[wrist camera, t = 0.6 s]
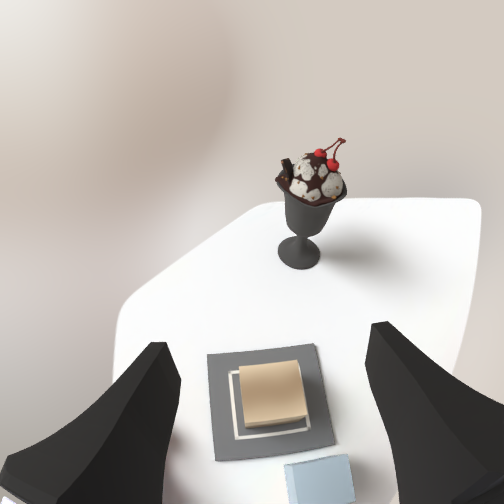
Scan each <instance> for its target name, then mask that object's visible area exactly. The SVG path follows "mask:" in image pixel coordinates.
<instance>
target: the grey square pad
mask: <svg viewBox="0 0 504 504" xmlns="http://www.w3.org/2000/svg"><path fill="white" fill-rule="evenodd" d="M292 360H297V361H298V366H299V372H300V377H301V382H302V388H303V393H304V398H305V404H306V409H307V415H306V416H305V417H304V418H302V419H301V420H300V421H299V422H293V423H287V424H280V425H272V426H265V427H256V428H246V429H245V421H244V413H243V404H242V395H241V386H240V376H239V366H249V365H259V364H268V363H277V362H285V361H292ZM207 364H208V380H209V395H210V408H211V420H212V431H213V442H214V452H215V461H223V460H238V459H249V458H259V457H267V456H275V455H282V454H288V453H294V452H300V451H305V450H311V449H316V448H320V447H325V446H329V445H334V444H335V443H334V437H333V432H332V427H331V422H330V417H329V412H328V407H327V402H326V397H325V392H324V387H323V383H322V378H321V373H320V369H319V364H318V359H317V355H316V350H315V346H314V343H312V344H305V345H298V346H290V347H282V348H274V349H265V350H255V351H245V352H233V353H221V354H207Z"/></svg>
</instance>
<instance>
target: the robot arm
mask: <svg viewBox="0 0 504 504" xmlns="http://www.w3.org/2000/svg"><path fill="white" fill-rule="evenodd" d="M365 367H366V371H367V375H368V379H369V383H370V387H371V390H372V393H373V396H374V398H375V401H376V404H377V407H378V409H379V412H380V415H381V417H382V420H383V423H384V426H385V429H386V431H387V434H388V437H389V441H390V444H391V449H392V454H393V459H394V464H395V470H396V476H397V483H398V491H399V502H400V504H504V405H503V404H501V403H499V402H496V401H494V400H492V399H490V398H488V397H486V396H485V395H483V394H481V393H479V392H477V391H475V390H474V389H472V388H470V387H469V386H467V385H466V384H464V383H462V382H461V381H459V380H458V379H456V378H455V377H454V376H452V375H451V374H449V373H448V372H447V371H445V370H444V369H443V368H442V367H440V366H439V365H438V364H436V363H435V362H434V361H433V360H431V359H430V358H429V357H428V356H427V355H425V354H424V353H423V352H422V351H421V350H420V349H418V348H417V347H416V346H415V345H414V344H413V343H412V342H410V341H409V340H408V339H407V338H406V337H405V336H404V335H403V334H402V333H400V332H399V331H398V330H397V329H396V328H395V327H394V326H393V325H392V324H390V323H389V322H388V321H385V322H379V323H373V324H372V325H371V332H370V338H369V344H368V349H367V355H366V360H365ZM180 387H181V378H180V375H179V373H178V370H177V368H176V366H175V363H174V361H173V358H172V356H171V353H170V351H169V348H168V345H167V343H166V342H151V343H150V344H149V345H148V346H147V347H146V348H145V349H144V350H143V351H142V353H141V354H140V355H139V356H138V357H137V358H136V359H135V361H134V362H133V363H132V364H131V365H130V366H129V367H128V368H127V370H126V371H125V372H124V373H123V374H122V375H121V376H120V377H119V378H118V379H117V381H116V382H115V383H114V384H113V385H112V386H111V387H110V388H109V389H108V390H107V391H106V392H105V393H104V394H103V395H102V396H101V397H100V398H99V399H98V400H97V401H96V402H95V403H94V404H92V405H91V406H90V407H89V408H88V409H87V410H86V411H84V412H83V413H82V414H81V415H79V416H78V417H77V418H76V419H75V420H73V421H72V422H70V423H69V424H67V425H66V426H64V427H63V428H62V429H60V430H59V431H57V432H56V433H54V434H53V435H51V436H49V437H48V438H46V439H44V440H42V441H41V442H39V443H37V444H35V445H33V446H31V447H28V448H26V449H24V450H21V451H19V452H17V453H14V454H12V455H9V456H8V457H7V459H6V461H5V463H4V465H3V468H2V470H1V473H0V486H1V487H3V488H4V489H5V490H7V491H8V492H10V493H11V494H12V495H14V496H15V497H17V498H18V499H20V500H22V501H23V502H25V503H27V504H162V491H163V477H164V467H165V459H166V454H167V449H168V445H169V441H170V437H171V433H172V429H173V425H174V421H175V417H176V412H177V408H178V404H179V396H180ZM1 504H16V503H15V502H13V501H12V500H10V499H9V498H7V497H3V500H2V502H1Z"/></svg>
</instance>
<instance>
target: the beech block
mask: <svg viewBox="0 0 504 504" xmlns="http://www.w3.org/2000/svg"><path fill="white" fill-rule="evenodd" d="M239 376H240V386H241V395H242V404H243V413H244V421H245V429H246V428H256V427H265V426H272V425H280V424H287V423H293V422H299V421H300V420H301V419H302V418H304V417H305V416H306V415H307V409H306V404H305V398H304V393H303V388H302V382H301V377H300V372H299V366H298V361H297V360H292V361H285V362H277V363H268V364H259V365H249V366H239Z"/></svg>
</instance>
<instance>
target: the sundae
mask: <svg viewBox="0 0 504 504" xmlns="http://www.w3.org/2000/svg"><path fill="white" fill-rule="evenodd" d="M338 141H341V142H340V144H339V145H338V146H337V147H336V149H335V151H334V154H333V159H327V158H326V156H327V153H326V150H328V149H330V148H331V147H333V146H334V145H335V144H336V143H337V142H338ZM345 142H346V140H344V139H342V138H338V140H337V141H336V142H335V143H334V144H333V145H332V146H330V147H328V148H327V149H325V150H323V149H317V150H316V151H315V152H314V153H305V155H303V156H301V157H300V158H298V159H297V161H296V163H295V164H292V163H291V161H290V159H289V158H287V159H283V160H281V163H282V166H283V170H282V171H281V172H280V173H279V175H278V177H276V179H275V181H276V182H277V185H278V186H279V188H280V189H281V190H282V191H283V192H284V196H285V215H286V222H287V225H288V227H289V229H290V230H291V231H293V232H294V233H295V234H297V236H294V237H289V238H287V239H285V240H283V241H282V242H281V243H280V245H279V247H278V255H279V257H280V259H281V260H282V261H283V262H284V263H285V264H286V265H288V266H290V267H292V268H296V269H307V268H310V267H312V266H314V265H315V264H316V263H317V262H318V260H319V257H320V252H319V249H318V247H317V246H316V245H315V244H314V243H313V242H312V241H311V240H309V239H307V238H308V237H310V236H314V235H316V234H318V233H320V232H321V230H322V229H323V227H324V226H325V224H326V222H327V220H328V218H329V216H330V213H331V211H332V209H333V207H334V205H335V203H336V202H338V201H340V200H342V199H343V198H344V197H345V196H346V195H347V188H346V185H345V183H344V181H343V179H342V177H341V175H340V174H341V173H340V172H338V168H339V163H338V162H337V161H336V160H335V154H336V150H337V149H338V147H339V146H340V145H341V144H342V143H345Z"/></svg>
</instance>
